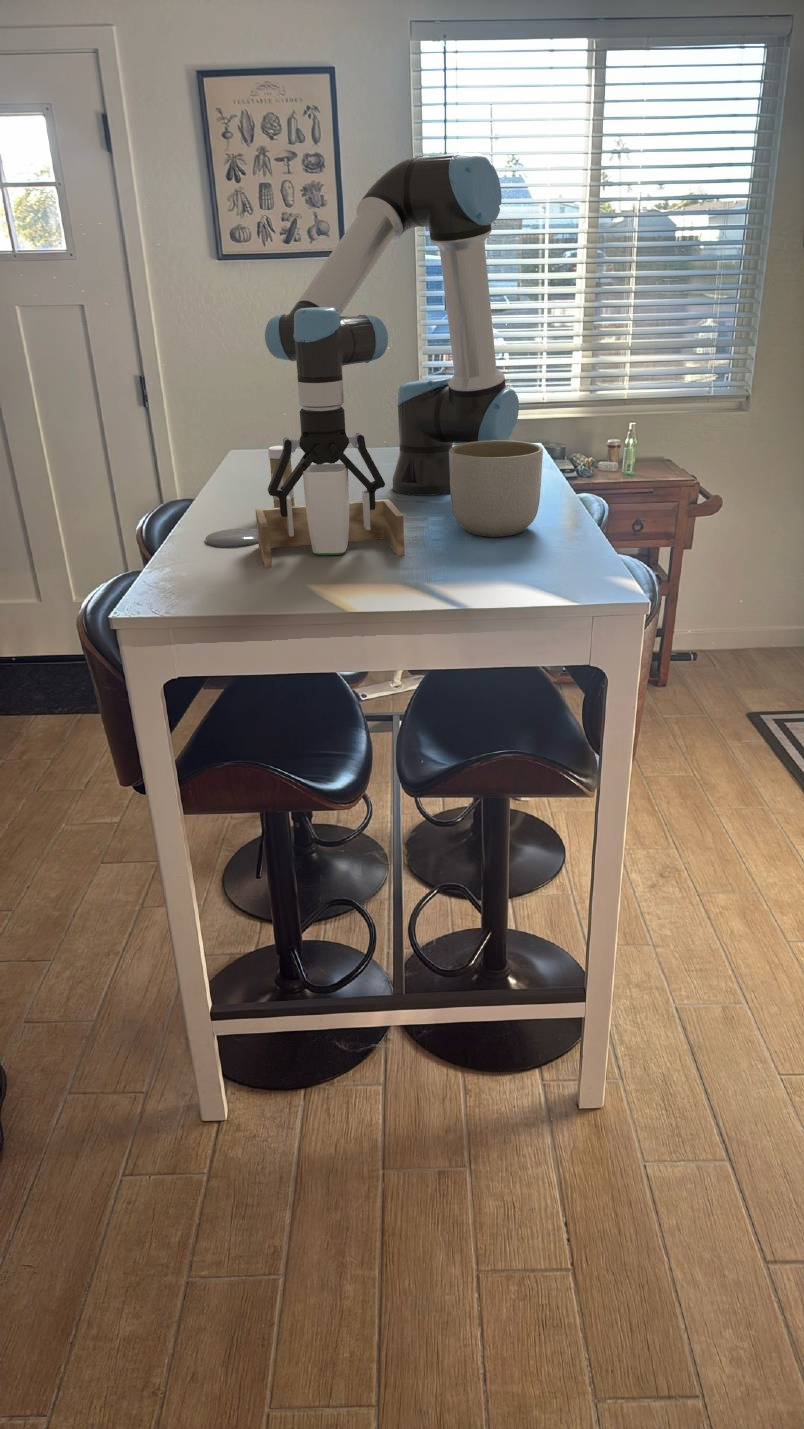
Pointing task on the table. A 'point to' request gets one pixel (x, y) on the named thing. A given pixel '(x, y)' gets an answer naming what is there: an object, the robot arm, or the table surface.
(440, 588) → the table surface
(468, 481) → the planter
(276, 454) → the sprinkles bottle
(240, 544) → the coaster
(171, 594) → the table surface
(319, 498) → the cup
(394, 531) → the wooden stand
